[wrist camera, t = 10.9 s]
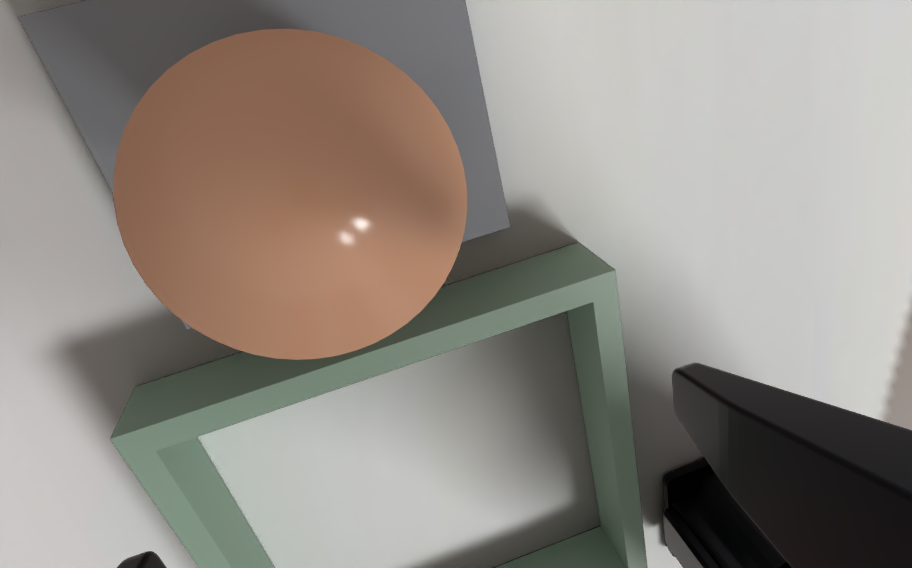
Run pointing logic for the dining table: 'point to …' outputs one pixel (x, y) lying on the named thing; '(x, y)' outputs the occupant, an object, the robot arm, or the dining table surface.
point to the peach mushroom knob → (290, 194)
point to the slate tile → (257, 8)
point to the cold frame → (428, 334)
